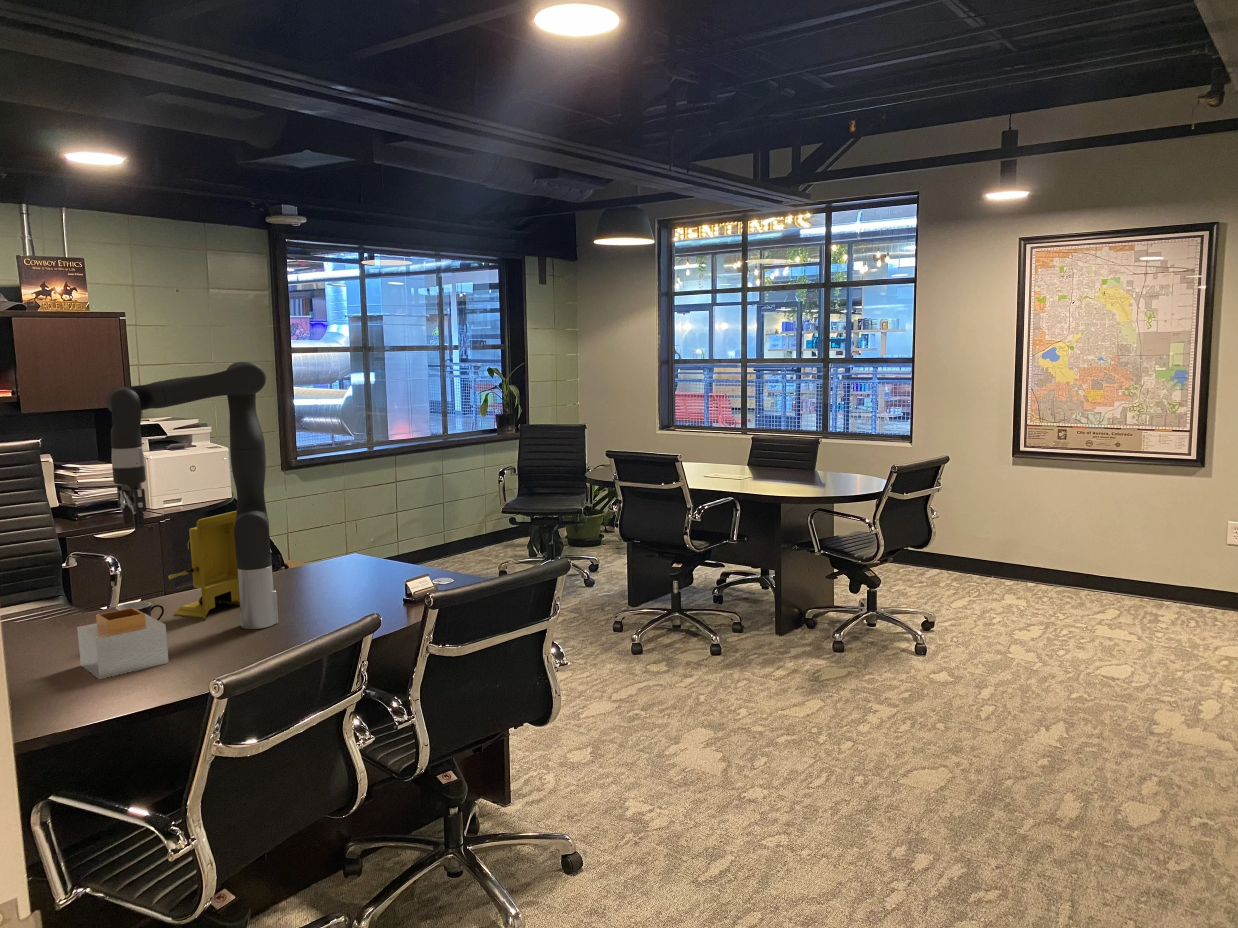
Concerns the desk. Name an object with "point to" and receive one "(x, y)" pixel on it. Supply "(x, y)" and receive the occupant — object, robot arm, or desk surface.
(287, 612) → the desk surface
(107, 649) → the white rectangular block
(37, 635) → the desk surface
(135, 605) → the coffee mug
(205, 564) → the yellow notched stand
